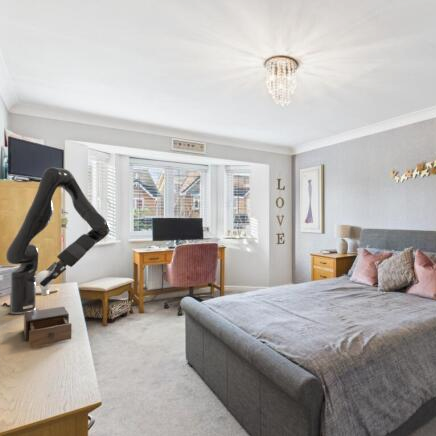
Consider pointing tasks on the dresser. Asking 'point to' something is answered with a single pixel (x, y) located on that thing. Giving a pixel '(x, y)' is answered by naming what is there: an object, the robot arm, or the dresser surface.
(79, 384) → the dresser surface
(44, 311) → the cabinet
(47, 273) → the lightbulb
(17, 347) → the dresser surface
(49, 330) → the drawer
